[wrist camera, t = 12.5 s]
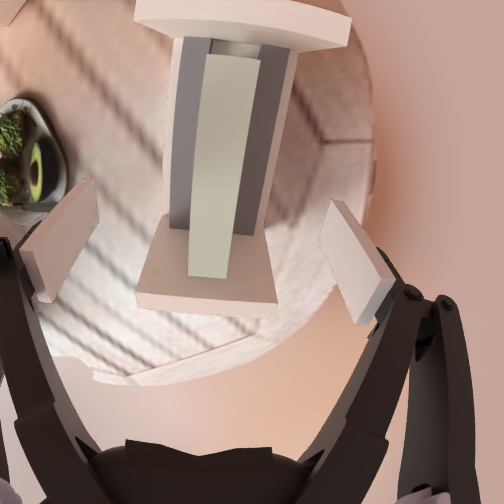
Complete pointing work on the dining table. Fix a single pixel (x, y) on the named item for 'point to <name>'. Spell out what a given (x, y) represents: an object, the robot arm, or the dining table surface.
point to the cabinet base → (244, 249)
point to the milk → (9, 10)
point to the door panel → (219, 160)
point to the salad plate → (29, 162)
